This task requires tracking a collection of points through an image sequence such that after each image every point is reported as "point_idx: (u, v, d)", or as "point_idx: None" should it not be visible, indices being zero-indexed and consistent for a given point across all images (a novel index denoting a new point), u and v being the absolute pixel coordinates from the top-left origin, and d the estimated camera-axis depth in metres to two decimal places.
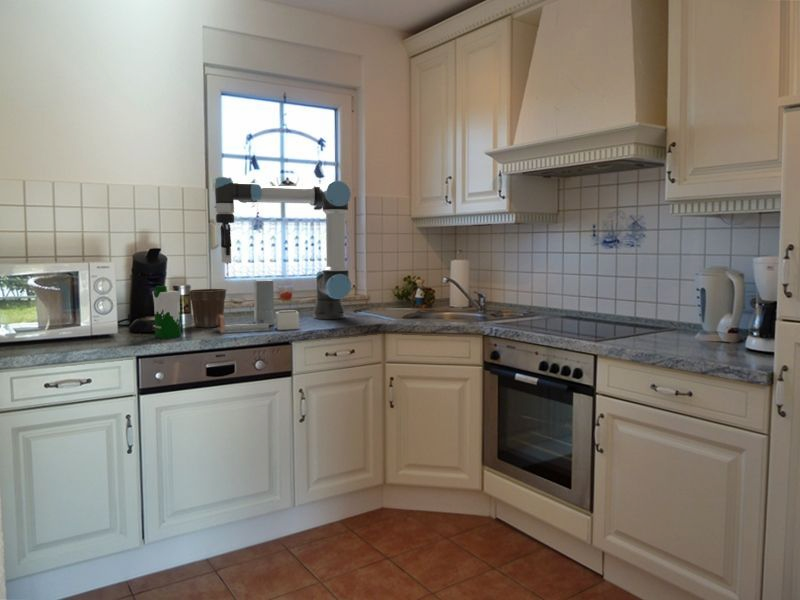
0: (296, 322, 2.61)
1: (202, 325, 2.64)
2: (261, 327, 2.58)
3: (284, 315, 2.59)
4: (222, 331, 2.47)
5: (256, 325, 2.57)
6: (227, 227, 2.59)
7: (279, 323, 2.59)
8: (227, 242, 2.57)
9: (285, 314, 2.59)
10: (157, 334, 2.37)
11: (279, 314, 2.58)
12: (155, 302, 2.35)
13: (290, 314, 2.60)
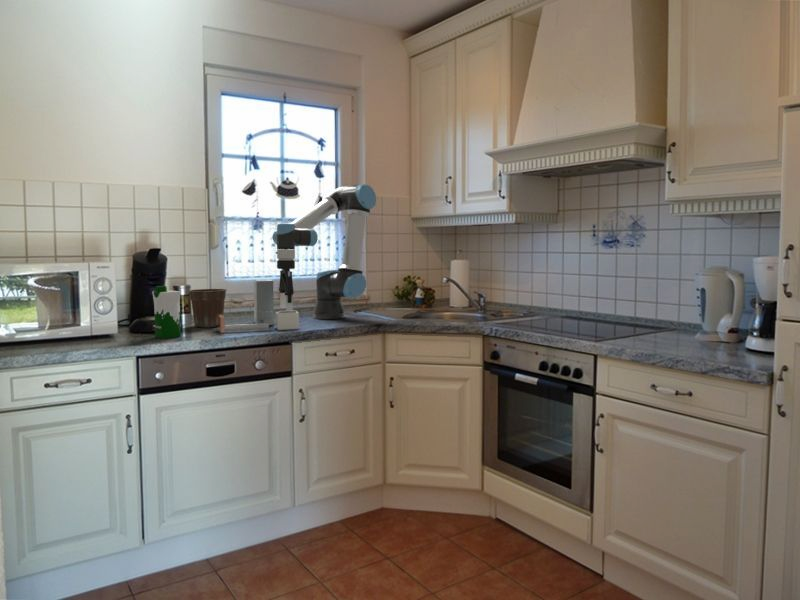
0: (296, 322, 2.61)
1: (202, 325, 2.64)
2: (261, 327, 2.58)
3: (284, 315, 2.59)
4: (222, 331, 2.47)
5: (256, 325, 2.57)
6: (289, 274, 2.54)
7: (279, 323, 2.59)
8: (289, 290, 2.52)
9: (285, 314, 2.59)
10: (157, 334, 2.37)
11: (279, 314, 2.58)
12: (155, 302, 2.35)
13: (290, 314, 2.60)
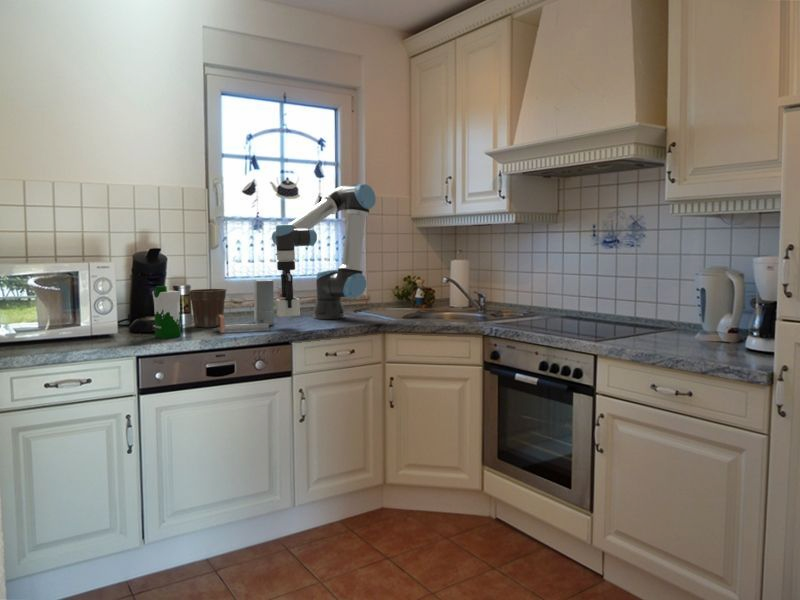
0: (297, 308, 2.61)
1: (202, 325, 2.64)
2: (261, 327, 2.58)
3: (285, 302, 2.59)
4: (222, 331, 2.47)
5: (256, 325, 2.57)
6: (290, 279, 2.55)
7: (280, 310, 2.58)
8: (289, 295, 2.56)
9: None
10: (157, 334, 2.37)
11: (280, 301, 2.58)
12: (155, 302, 2.35)
13: None
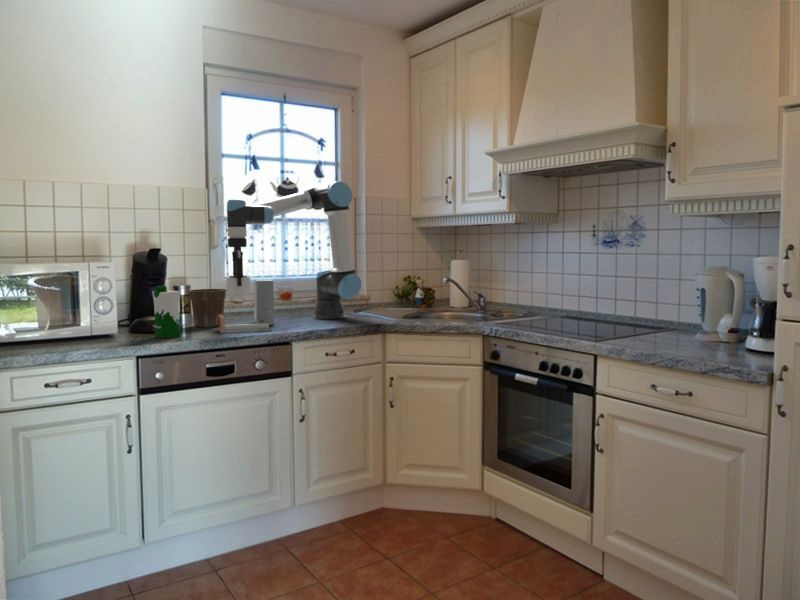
0: (247, 287, 2.52)
1: (202, 325, 2.64)
2: (261, 327, 2.58)
3: (235, 280, 2.50)
4: (222, 331, 2.47)
5: (256, 325, 2.57)
6: (239, 256, 2.47)
7: (229, 288, 2.50)
8: (239, 273, 2.47)
9: None
10: (157, 334, 2.37)
11: (229, 279, 2.50)
12: (155, 302, 2.35)
13: None
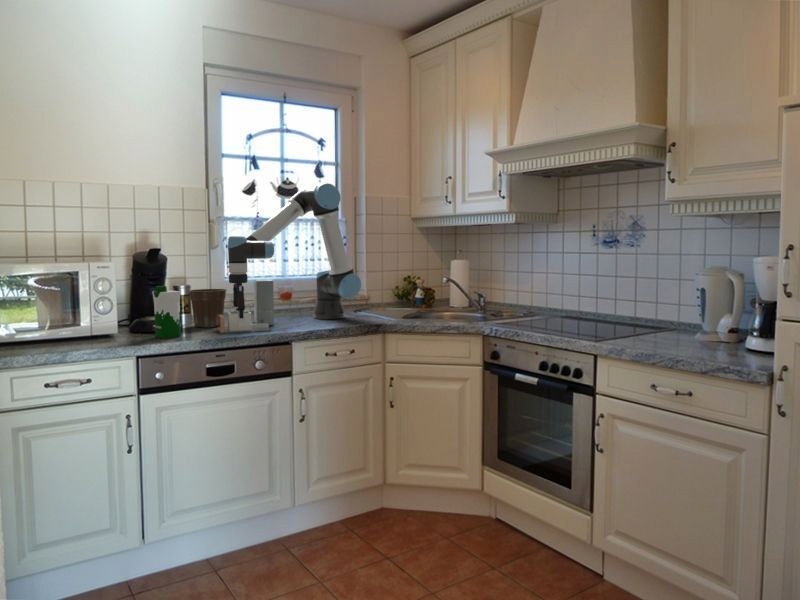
0: (248, 323, 2.54)
1: (202, 325, 2.64)
2: (261, 327, 2.58)
3: (236, 316, 2.52)
4: (222, 331, 2.47)
5: (256, 325, 2.57)
6: (240, 289, 2.48)
7: (230, 324, 2.51)
8: (241, 305, 2.46)
9: (237, 315, 2.52)
10: (157, 334, 2.37)
11: (230, 315, 2.51)
12: (155, 302, 2.35)
13: None
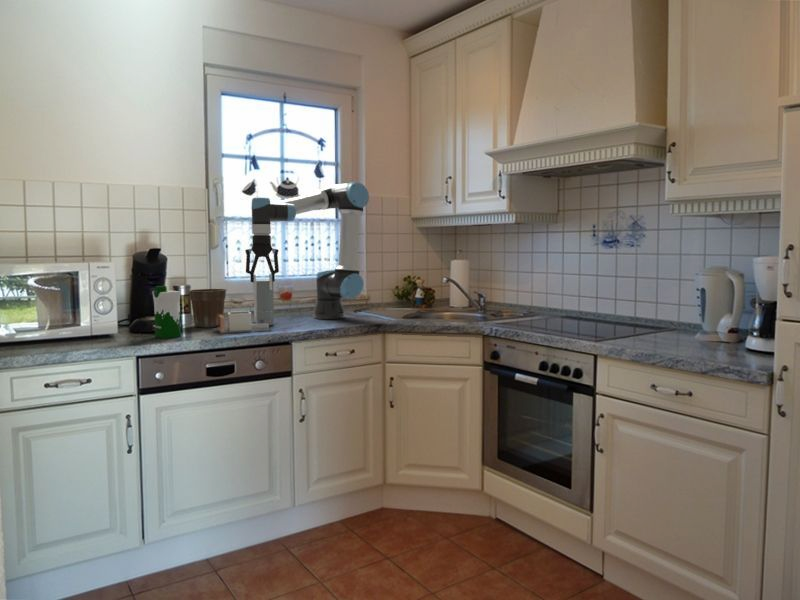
0: (248, 323, 2.54)
1: (202, 325, 2.64)
2: (261, 327, 2.58)
3: (236, 316, 2.52)
4: (222, 331, 2.47)
5: (256, 325, 2.57)
6: (246, 253, 2.54)
7: (230, 324, 2.51)
8: (246, 269, 2.55)
9: (237, 315, 2.52)
10: (157, 334, 2.37)
11: (230, 315, 2.51)
12: (155, 302, 2.35)
13: (242, 315, 2.53)
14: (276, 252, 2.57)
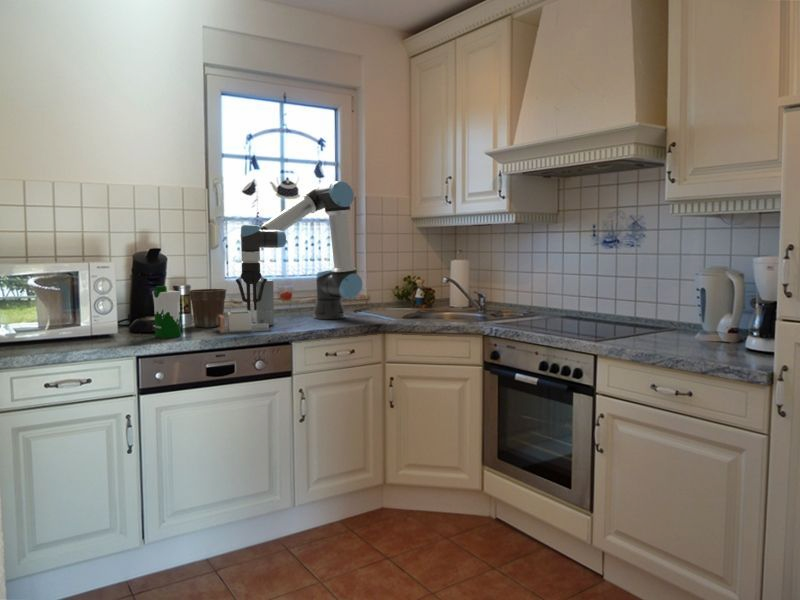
0: (248, 323, 2.54)
1: (202, 325, 2.64)
2: (261, 327, 2.58)
3: (236, 316, 2.52)
4: (222, 331, 2.47)
5: (256, 325, 2.57)
6: (237, 282, 2.53)
7: (230, 324, 2.51)
8: (242, 298, 2.55)
9: (237, 315, 2.52)
10: (157, 334, 2.37)
11: (230, 315, 2.51)
12: (155, 302, 2.35)
13: (242, 315, 2.53)
14: (264, 281, 2.56)
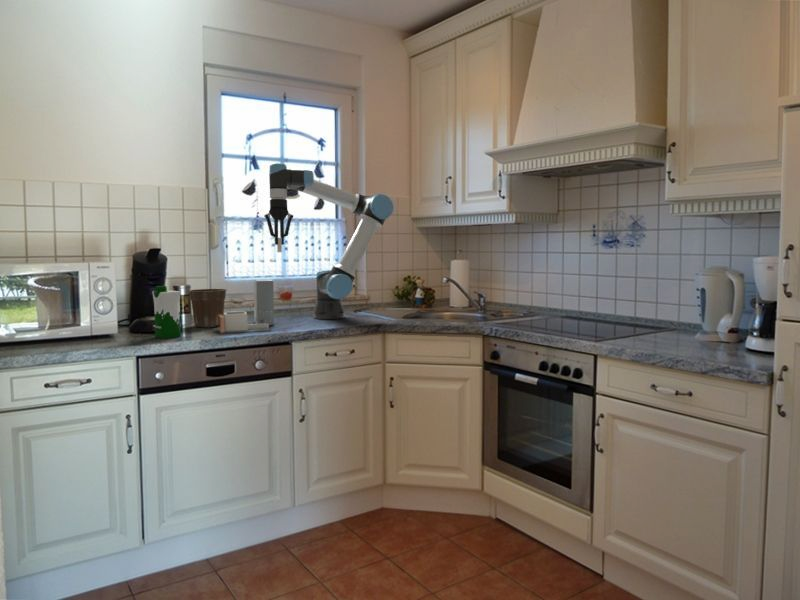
0: (244, 323, 2.53)
1: (202, 325, 2.64)
2: (261, 327, 2.58)
3: (232, 316, 2.51)
4: (222, 331, 2.47)
5: (256, 325, 2.57)
6: None
7: (226, 324, 2.51)
8: (270, 233, 2.72)
9: (233, 315, 2.51)
10: (157, 334, 2.37)
11: (226, 315, 2.50)
12: (155, 302, 2.35)
13: (238, 315, 2.52)
14: (291, 217, 2.73)
